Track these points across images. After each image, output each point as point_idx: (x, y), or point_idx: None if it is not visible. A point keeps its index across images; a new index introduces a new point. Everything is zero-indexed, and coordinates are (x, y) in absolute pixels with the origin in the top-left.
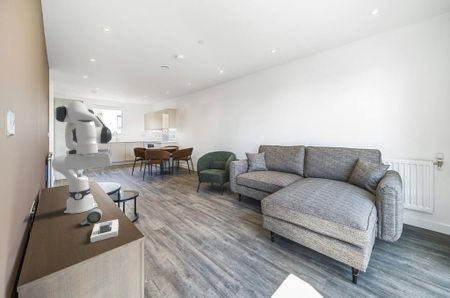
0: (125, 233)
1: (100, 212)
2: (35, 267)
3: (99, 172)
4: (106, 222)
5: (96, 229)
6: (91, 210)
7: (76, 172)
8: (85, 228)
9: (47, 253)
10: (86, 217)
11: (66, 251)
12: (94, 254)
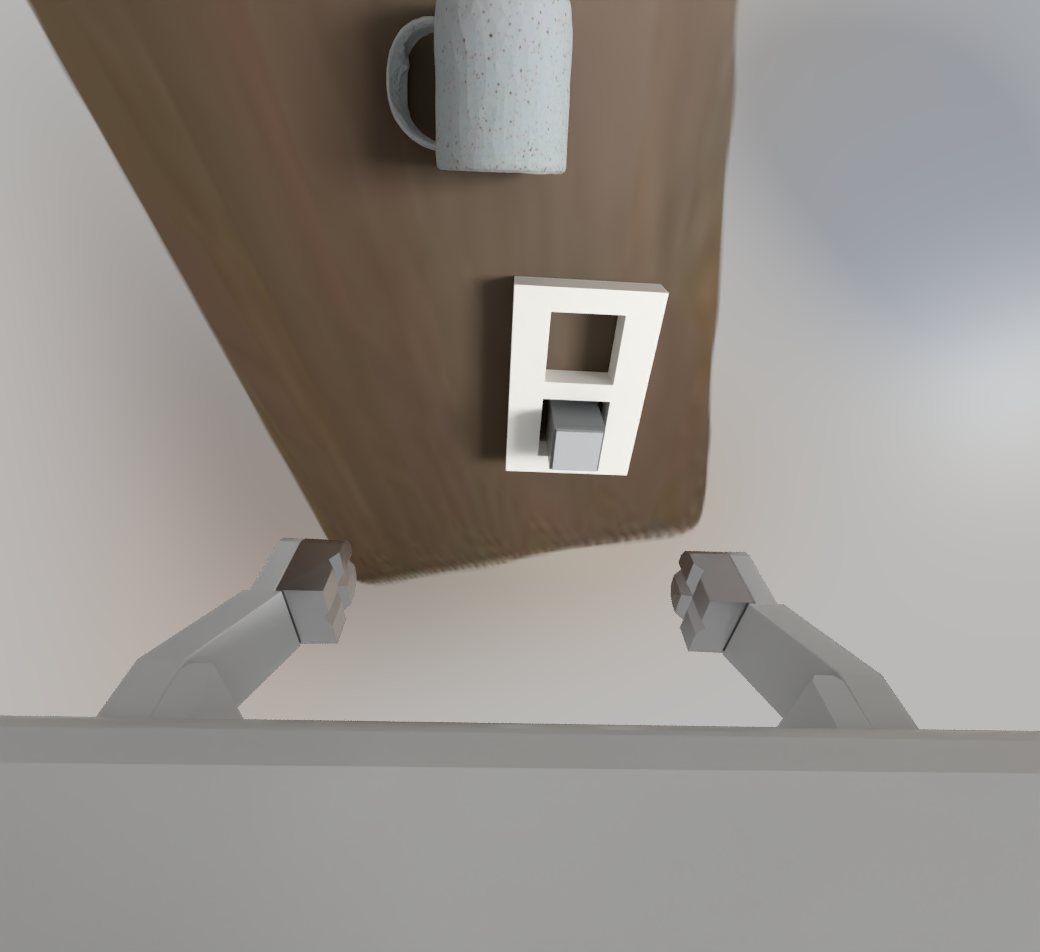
0: (658, 455)
1: (561, 145)
2: (344, 522)
3: (693, 641)
4: (588, 441)
5: (528, 388)
6: (476, 75)
7: (248, 684)
8: (448, 220)
9: (338, 444)
10: (444, 169)
11: (417, 472)
12: (525, 547)
